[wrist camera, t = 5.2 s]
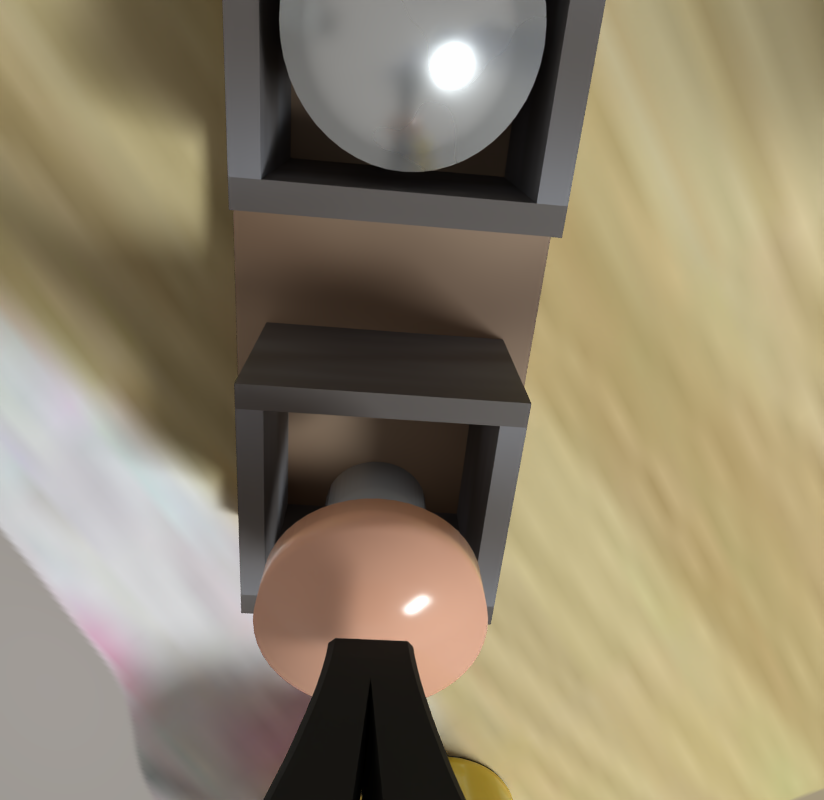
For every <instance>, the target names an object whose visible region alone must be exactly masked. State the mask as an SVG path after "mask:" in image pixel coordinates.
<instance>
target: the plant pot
mask: <svg viewBox="0 0 824 800" xmlns="http://www.w3.org/2000/svg"><path fill="white" fill-rule="evenodd" d="M448 759H449V761H450V764H451V767H452V769H453V771H454V774H455V776H456V778H457V781H458V783H459V785H460V787H461V790H462V792H463V794H464V796H465V798H466V800H513V799H512V796H511V794H510V791H509V789H508V788H507V786H506V785H505V784H504V782H503V781H502V780H501V779H500V778H499V777H498V776H497V775H496V774H495V773H494V772H492V771H491V770H489V769H488V768H486V767H484V766H482V765H480V764H478V763H475V762H472V761H469V760H466V759H461V758H456V757H448ZM360 800H362V795H361V797H360Z"/></svg>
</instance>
